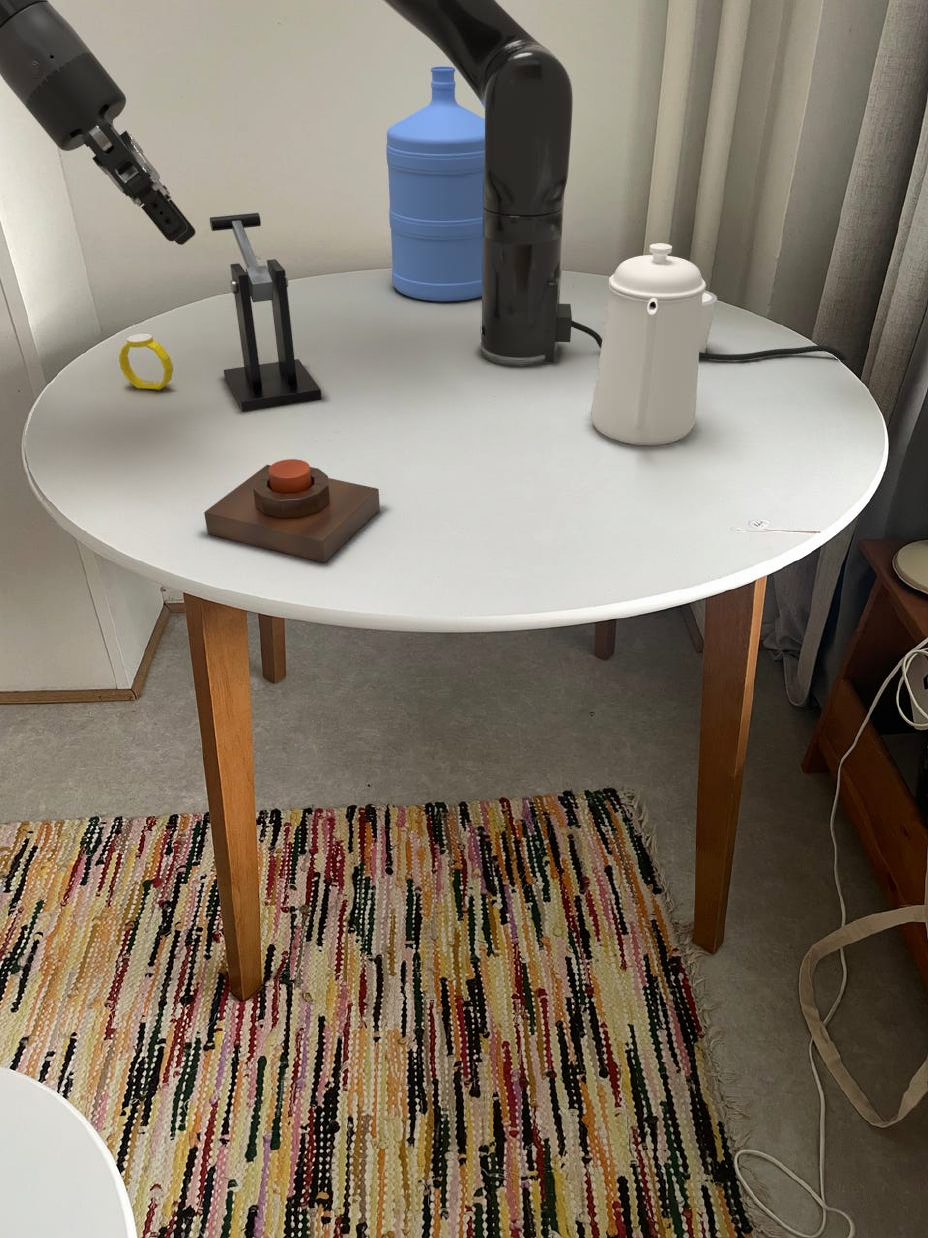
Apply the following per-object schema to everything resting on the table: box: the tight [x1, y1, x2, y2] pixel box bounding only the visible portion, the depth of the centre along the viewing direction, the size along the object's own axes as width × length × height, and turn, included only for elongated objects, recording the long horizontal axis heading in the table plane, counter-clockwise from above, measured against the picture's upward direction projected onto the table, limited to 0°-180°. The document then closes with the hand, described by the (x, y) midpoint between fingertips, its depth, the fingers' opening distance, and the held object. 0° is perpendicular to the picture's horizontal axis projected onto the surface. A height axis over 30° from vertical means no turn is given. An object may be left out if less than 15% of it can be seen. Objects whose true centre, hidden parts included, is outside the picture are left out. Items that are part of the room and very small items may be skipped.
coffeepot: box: [590, 242, 707, 446], centre depth 100 cm, size 11×25×19 cm, turn 168°
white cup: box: [699, 290, 718, 353], centre depth 122 cm, size 7×7×7 cm
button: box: [269, 458, 312, 494], centre depth 88 cm, size 4×4×2 cm
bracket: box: [223, 258, 322, 412], centre depth 111 cm, size 10×9×14 cm
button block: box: [203, 464, 381, 564], centre depth 89 cm, size 12×10×4 cm
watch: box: [118, 333, 174, 391], centre depth 113 cm, size 6×3×6 cm, turn 74°
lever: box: [209, 212, 273, 303], centre depth 110 cm, size 13×6×2 cm, turn 22°
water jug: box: [385, 66, 485, 302], centre depth 137 cm, size 16×16×28 cm
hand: (184, 237), depth 93 cm, fingers open, 8 cm apart
